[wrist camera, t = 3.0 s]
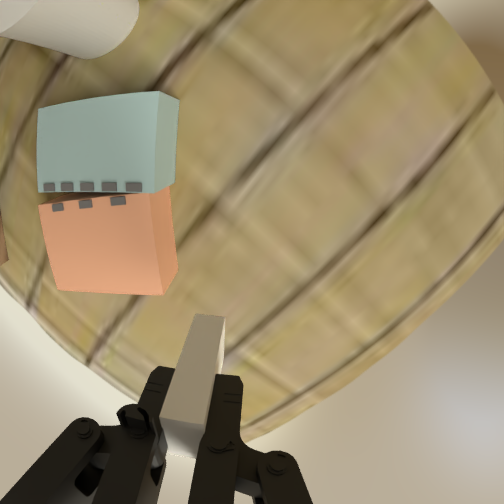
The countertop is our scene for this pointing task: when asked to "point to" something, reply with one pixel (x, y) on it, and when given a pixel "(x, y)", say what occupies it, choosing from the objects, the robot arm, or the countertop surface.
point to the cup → (69, 24)
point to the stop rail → (2, 245)
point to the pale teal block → (108, 144)
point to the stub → (111, 241)
